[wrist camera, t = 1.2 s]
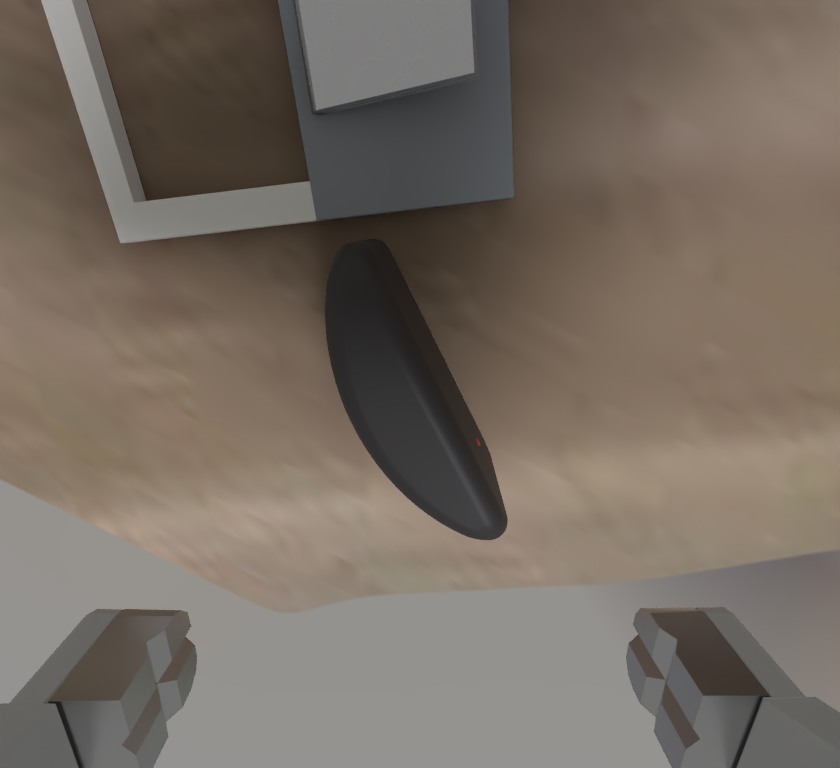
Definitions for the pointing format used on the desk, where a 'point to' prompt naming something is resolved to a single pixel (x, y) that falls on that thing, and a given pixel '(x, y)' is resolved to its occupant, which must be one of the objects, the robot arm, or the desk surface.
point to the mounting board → (315, 142)
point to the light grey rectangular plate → (383, 49)
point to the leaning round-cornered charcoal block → (406, 394)
